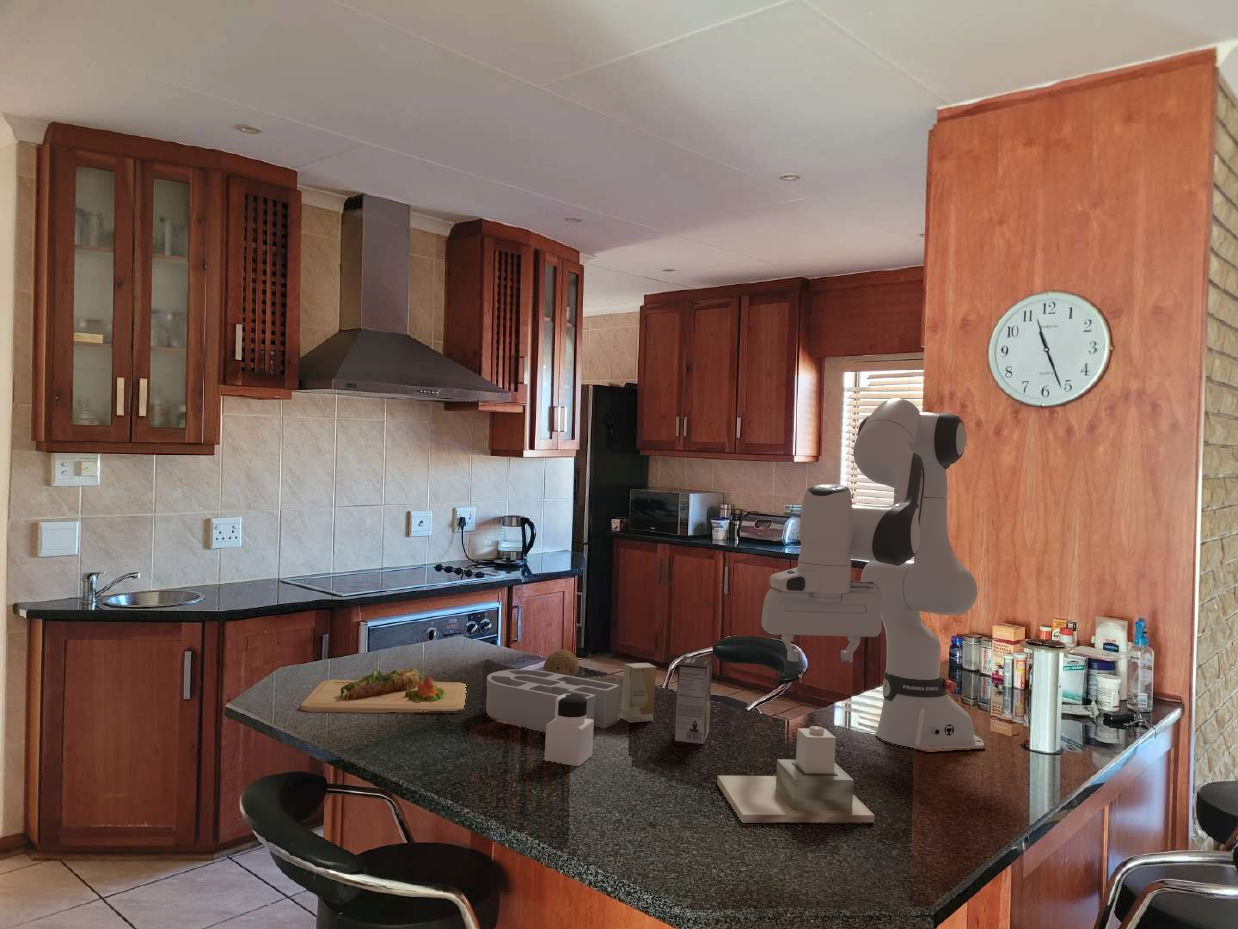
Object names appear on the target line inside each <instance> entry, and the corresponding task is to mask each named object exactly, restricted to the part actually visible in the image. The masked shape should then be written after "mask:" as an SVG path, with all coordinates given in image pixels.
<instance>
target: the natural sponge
mask: <svg viewBox="0 0 1238 929" xmlns="http://www.w3.org/2000/svg"><path fill="white" fill-rule="evenodd" d="M579 669H580V663H579V660H578V658H577V657H576V655H575V653H573V652H572V651H570V650H567V649H556V650H555V651H553V652H552V653H550V654H549V655H548V657H547V658H546V659H545V661H544V663H543V669H542V671H546V672H552V673H557V674H562V675H568V676H573V677H578V676H577V675H578V674H579Z"/></svg>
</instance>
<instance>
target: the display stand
mask: <svg viewBox="0 0 1238 929" xmlns="http://www.w3.org/2000/svg"><path fill="white" fill-rule="evenodd" d="M716 778H717V780H716V782H717V783H716V784H717V786H718V787H719V789H720V791H721V792H722V794H723V795H724V797H725V798H726V801H727V802H728V803H729V805H730V804H731V805H730V806H732V807H731V809H732V810H733V809H734V810H733V811H734V813H735V812H736V813H735V815H736V814H737V815H736V816H737V817H739V818H738V819H739V821H740V820H741V821H740V823H741V822H742V823H760V822H874V823H875V814H874V813H873V812H872V811H871V810H870V809H869V808H868V807H867V805H865V804H864V803H863V802H862V801H861V800H859V798H858V797H857V796H856V795H855V794H854V784H855V782H854V781H855V780H854V779H853V778H852V777H851V776H850V774H848V773H847V772H846V771H845V770H844V769H842V768H841V766H839V765H838V764H837V762H835V764H834V773H805V772H804V771H803V770H802V769H801V768H800V767H799V766H798V765H797V764H796V759H787V758H785V759H783V758H782V759H780V758H778V759H776V775H717V777H716ZM742 823H741V824H742Z"/></svg>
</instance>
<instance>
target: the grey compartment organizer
mask: <svg viewBox="0 0 1238 929" xmlns="http://www.w3.org/2000/svg"><path fill="white" fill-rule="evenodd" d="M486 687H487V688H486V706H485V707H486V708H485V710H486V715H487V714H488V715H489V716H490V717H492V718H495V719H498V720H502V721H505V722H508V723H511V724H517V725H520V726H523V727H526V728H529V729H533V730H540V731H544V732H546V725H547V723H549V722H551V721H552V720H554V719H555V703H556V698H557V697H558V696H560V695H563V694H578V695H581V696H583V697H585V698H586V699H587V715H586V719H592V720H594V726H596V727H595V728H597V727H600V728H599V729H602V728H603V729H602V730H606V729H607V727H608V728H609V726H610V727H612V726H614V725H616V724H617V722H618V716H619V711H618V710H619V694H620V693H621V684H617V683H610V682H606V681H599V680H595V679H589V678H583V677H578V676H576V677H573V676H568V675H562V674H557V673H552V672H546V671H543V670H539V669H537V670H536V669H523V668H522V669H505V670H504V669H503V670H499V671H494V672H491V673H489V674H488V675H487V676H486ZM488 715H487V716H488ZM613 724H614V725H613ZM611 725H612V726H611Z"/></svg>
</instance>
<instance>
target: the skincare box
mask: <svg viewBox="0 0 1238 929" xmlns="http://www.w3.org/2000/svg"><path fill="white" fill-rule="evenodd" d="M623 666H624V668H623V683H622V694H621V695H622V696H621V697H622V698H621V710H620V718H621V719H622V720H623V721H626V722H627V723H629V724H630V723H632V724H633V723H640V722H653V721H654V708H655V694H656V692H655V691H656V678H657V666H655V665H654V664H652V663H650V662H635V663H624V665H623Z"/></svg>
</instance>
